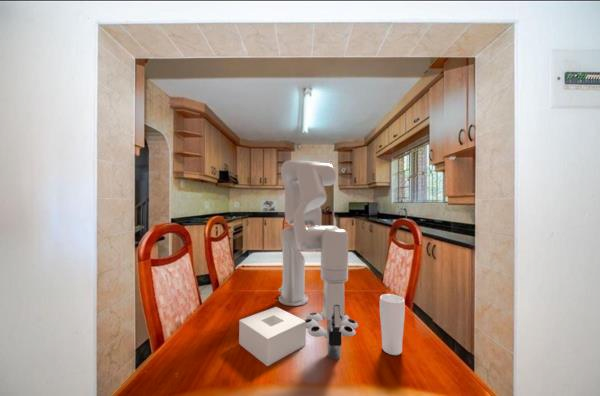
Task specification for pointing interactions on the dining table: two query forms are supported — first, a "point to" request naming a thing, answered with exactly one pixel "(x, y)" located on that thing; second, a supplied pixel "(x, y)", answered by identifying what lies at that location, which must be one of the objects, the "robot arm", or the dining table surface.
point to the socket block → (272, 334)
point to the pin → (332, 351)
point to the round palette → (318, 317)
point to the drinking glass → (392, 322)
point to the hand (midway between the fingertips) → (333, 338)
